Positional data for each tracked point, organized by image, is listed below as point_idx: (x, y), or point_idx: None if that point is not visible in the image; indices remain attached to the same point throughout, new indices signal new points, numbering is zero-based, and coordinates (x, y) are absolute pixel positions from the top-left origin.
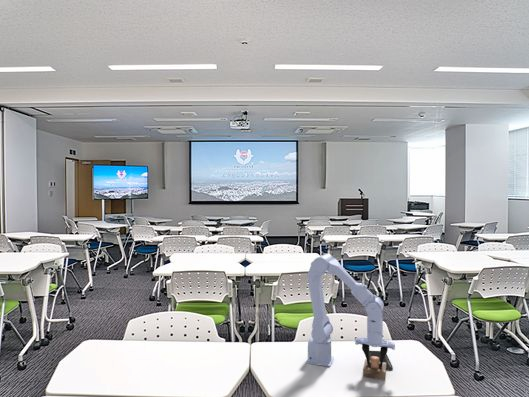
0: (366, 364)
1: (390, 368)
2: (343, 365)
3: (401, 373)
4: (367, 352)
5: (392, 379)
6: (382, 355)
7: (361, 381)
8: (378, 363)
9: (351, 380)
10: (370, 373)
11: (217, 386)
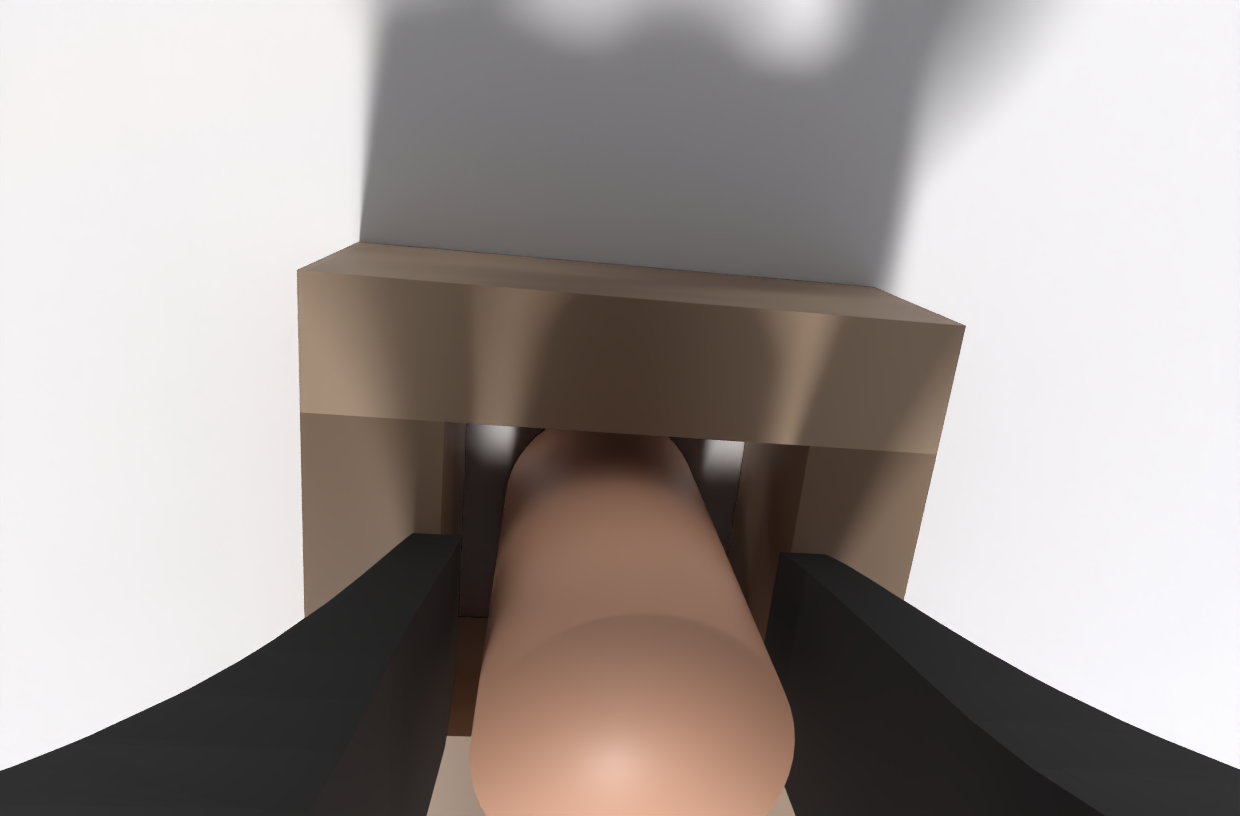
0: None
1: None
2: (1224, 648)
3: (18, 646)
4: (1132, 793)
5: (192, 330)
6: (223, 750)
7: (936, 41)
8: (506, 596)
9: (1170, 32)
10: (730, 293)
11: None
